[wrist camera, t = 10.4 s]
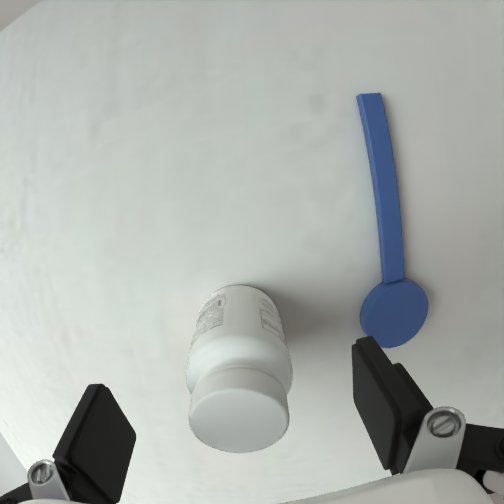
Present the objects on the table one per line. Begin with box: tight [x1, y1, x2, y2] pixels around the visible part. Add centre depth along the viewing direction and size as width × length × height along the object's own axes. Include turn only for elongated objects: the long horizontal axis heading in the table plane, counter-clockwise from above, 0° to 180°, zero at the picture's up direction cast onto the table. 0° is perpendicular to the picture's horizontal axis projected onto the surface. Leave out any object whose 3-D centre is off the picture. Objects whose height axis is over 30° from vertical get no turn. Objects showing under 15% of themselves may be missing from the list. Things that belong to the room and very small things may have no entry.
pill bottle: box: [185, 285, 293, 453], centre depth 13 cm, size 4×4×8 cm
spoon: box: [357, 93, 428, 348], centre depth 15 cm, size 14×4×1 cm, turn 12°
